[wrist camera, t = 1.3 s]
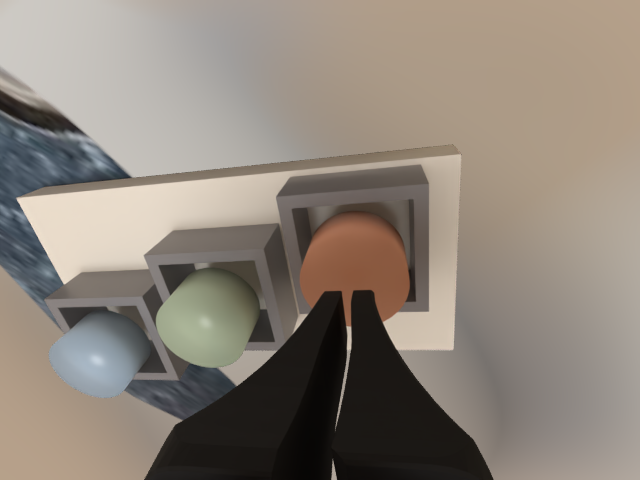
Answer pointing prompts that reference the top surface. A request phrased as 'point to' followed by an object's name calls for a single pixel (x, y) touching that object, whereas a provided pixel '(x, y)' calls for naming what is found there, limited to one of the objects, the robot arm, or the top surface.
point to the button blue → (100, 353)
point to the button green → (209, 317)
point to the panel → (249, 240)
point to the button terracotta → (357, 262)
